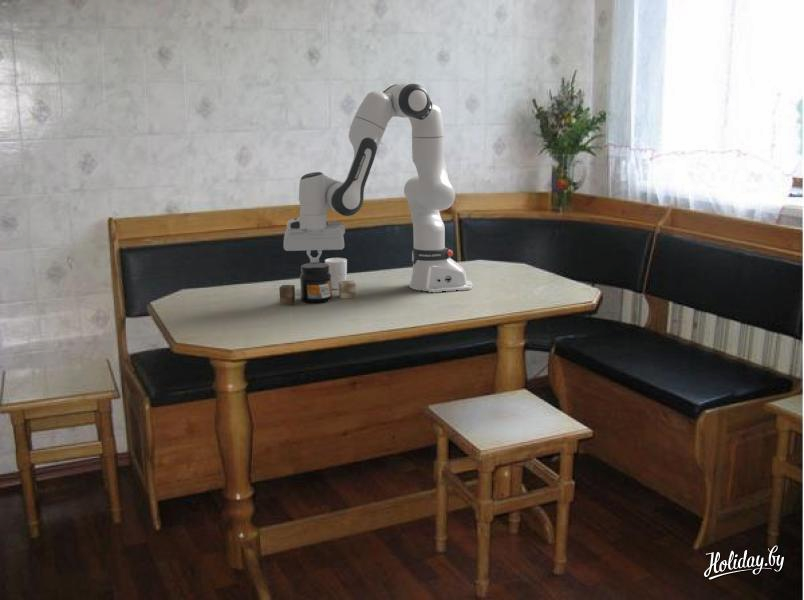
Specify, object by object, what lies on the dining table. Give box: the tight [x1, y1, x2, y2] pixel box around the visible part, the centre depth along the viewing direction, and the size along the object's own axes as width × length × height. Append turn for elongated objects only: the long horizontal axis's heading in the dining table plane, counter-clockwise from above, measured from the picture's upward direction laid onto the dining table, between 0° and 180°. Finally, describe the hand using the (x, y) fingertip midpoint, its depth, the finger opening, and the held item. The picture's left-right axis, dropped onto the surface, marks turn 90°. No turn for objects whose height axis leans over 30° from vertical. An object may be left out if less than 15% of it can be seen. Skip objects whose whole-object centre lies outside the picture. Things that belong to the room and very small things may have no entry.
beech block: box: [338, 280, 357, 300], centre depth 292 cm, size 5×5×5 cm
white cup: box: [324, 257, 348, 290], centre depth 305 cm, size 8×8×10 cm
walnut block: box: [278, 284, 296, 306], centre depth 283 cm, size 4×4×6 cm
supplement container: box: [299, 262, 333, 304], centre depth 287 cm, size 10×10×12 cm
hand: (314, 263), depth 285 cm, fingers closed
